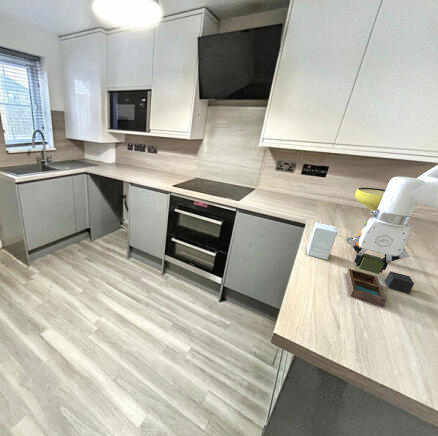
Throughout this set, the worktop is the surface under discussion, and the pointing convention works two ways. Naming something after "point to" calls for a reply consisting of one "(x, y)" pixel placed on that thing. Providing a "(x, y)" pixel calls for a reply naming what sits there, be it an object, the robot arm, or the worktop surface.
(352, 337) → the worktop surface
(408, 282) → the dark grey block
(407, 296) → the worktop surface
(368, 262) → the olive green block
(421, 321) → the worktop surface
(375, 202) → the cocktail glass
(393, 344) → the worktop surface
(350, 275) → the brown divided tray
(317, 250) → the white packaging box
